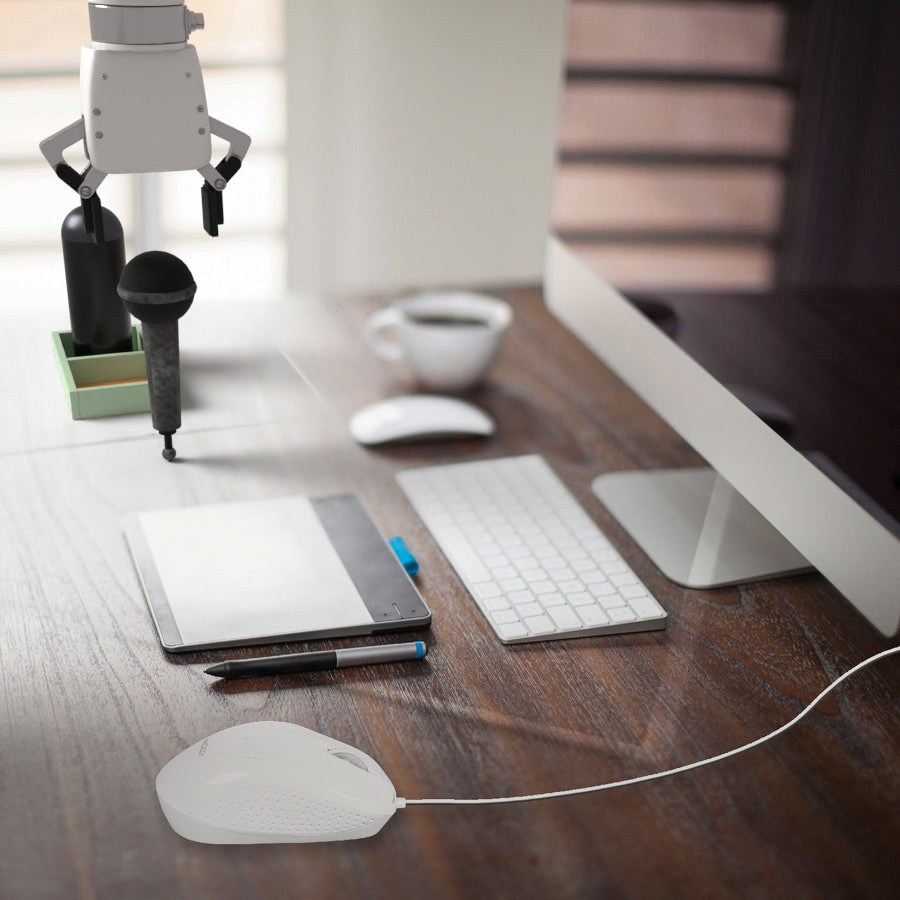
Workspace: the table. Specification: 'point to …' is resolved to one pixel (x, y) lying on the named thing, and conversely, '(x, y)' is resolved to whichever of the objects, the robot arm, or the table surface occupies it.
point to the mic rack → (102, 378)
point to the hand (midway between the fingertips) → (155, 237)
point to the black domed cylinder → (95, 286)
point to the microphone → (160, 330)
